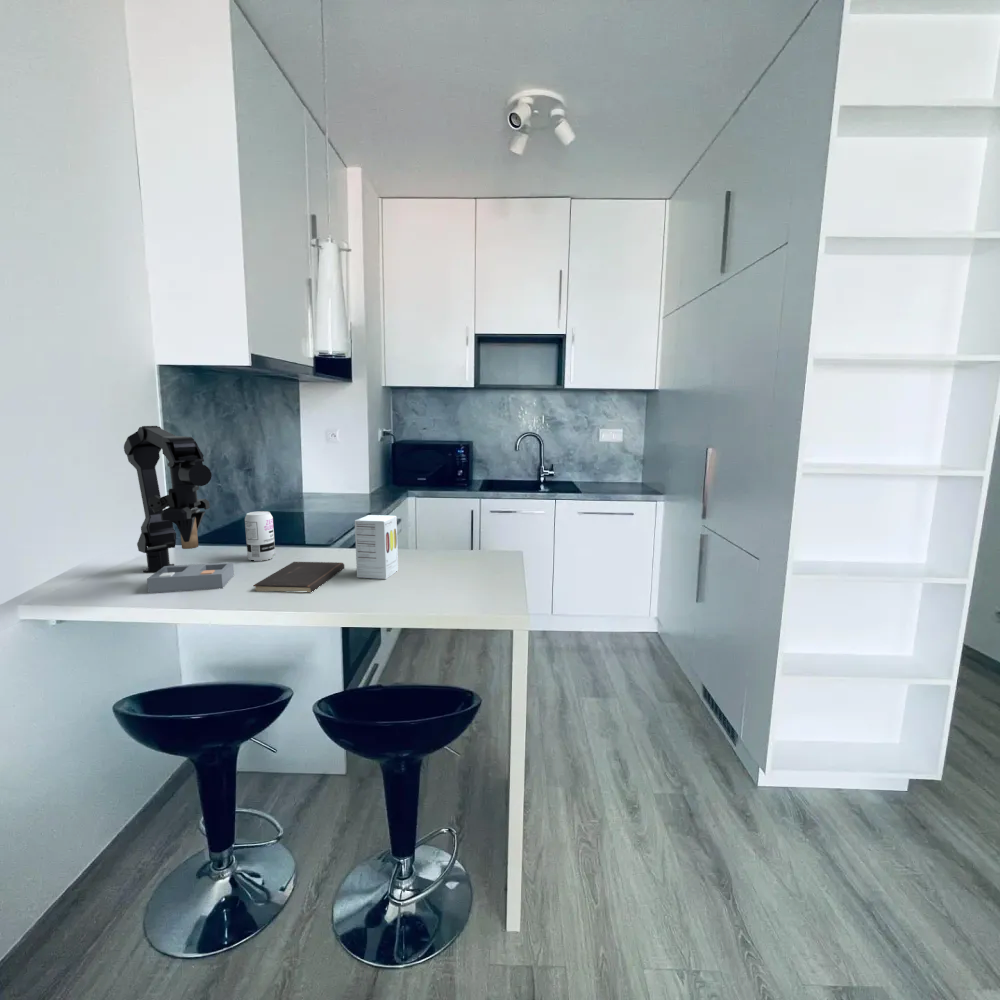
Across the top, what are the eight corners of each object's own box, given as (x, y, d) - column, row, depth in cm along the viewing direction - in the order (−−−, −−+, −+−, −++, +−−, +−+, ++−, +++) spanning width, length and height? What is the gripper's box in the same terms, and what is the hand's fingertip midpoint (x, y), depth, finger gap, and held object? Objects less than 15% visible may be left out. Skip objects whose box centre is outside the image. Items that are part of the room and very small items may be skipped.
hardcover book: (253, 593, 145) (253, 585, 145) (294, 568, 168) (293, 561, 168) (311, 594, 144) (311, 586, 144) (344, 569, 167) (344, 562, 166)
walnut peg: (185, 545, 152) (182, 517, 151) (200, 545, 153) (197, 517, 152) (179, 549, 149) (176, 520, 147) (195, 548, 149) (192, 519, 148)
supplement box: (386, 579, 155) (384, 521, 152) (356, 578, 157) (353, 520, 154) (399, 570, 164) (397, 515, 161) (370, 568, 166) (368, 514, 163)
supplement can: (248, 556, 180) (245, 511, 178) (275, 554, 183) (272, 510, 180) (247, 563, 173) (243, 516, 170) (275, 560, 175) (271, 514, 173)
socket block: (166, 579, 156) (164, 565, 155) (234, 575, 159) (233, 561, 159) (148, 593, 144) (147, 577, 144) (222, 588, 148) (221, 572, 147)
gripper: (165, 480, 156) (171, 534, 158) (135, 489, 138) (142, 549, 140) (207, 479, 158) (212, 532, 160) (183, 487, 140) (189, 547, 142)
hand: (189, 540), depth 151 cm, fingers closed on walnut peg, 4 cm apart
